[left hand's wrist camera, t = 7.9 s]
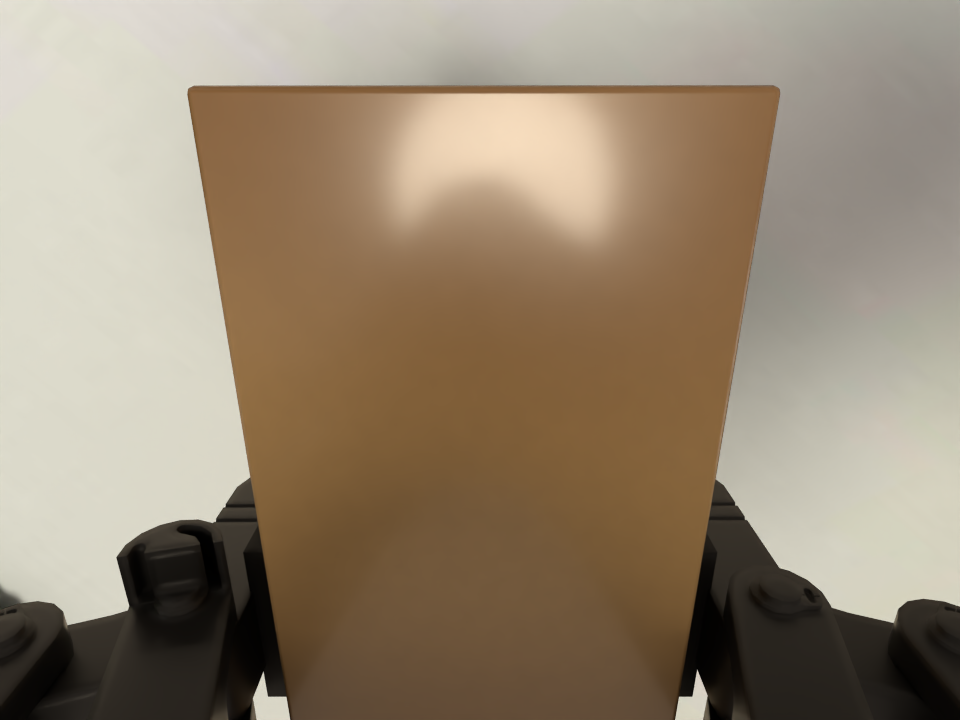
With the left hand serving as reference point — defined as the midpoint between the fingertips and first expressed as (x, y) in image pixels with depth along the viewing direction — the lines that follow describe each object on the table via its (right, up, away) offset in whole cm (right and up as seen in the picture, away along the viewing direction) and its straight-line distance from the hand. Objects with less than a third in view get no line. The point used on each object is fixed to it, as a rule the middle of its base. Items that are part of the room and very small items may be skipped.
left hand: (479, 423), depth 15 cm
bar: (0, -27, +12) cm, 29 cm away
